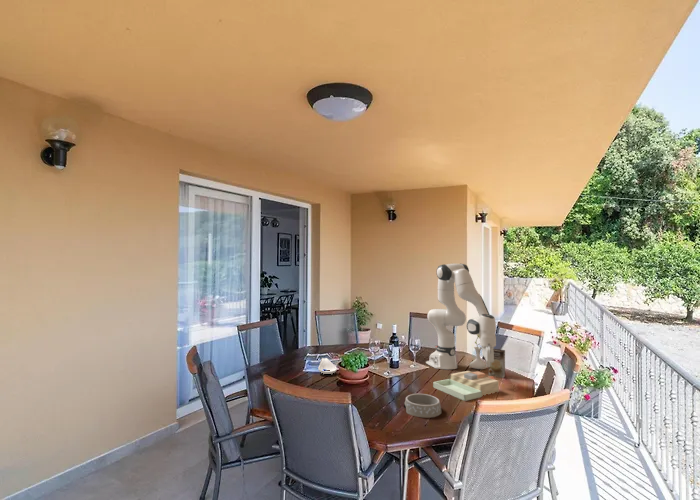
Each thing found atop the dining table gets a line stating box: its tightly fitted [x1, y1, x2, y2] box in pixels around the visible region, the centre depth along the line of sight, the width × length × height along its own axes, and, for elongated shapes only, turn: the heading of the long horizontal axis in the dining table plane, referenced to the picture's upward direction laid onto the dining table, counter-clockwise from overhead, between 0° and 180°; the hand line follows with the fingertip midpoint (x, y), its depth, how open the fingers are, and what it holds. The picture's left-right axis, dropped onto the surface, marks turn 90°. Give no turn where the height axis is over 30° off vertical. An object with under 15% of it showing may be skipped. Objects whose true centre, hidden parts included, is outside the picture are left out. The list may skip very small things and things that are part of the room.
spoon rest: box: [318, 357, 338, 375], centre depth 244 cm, size 24×12×7 cm, turn 15°
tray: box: [432, 378, 483, 402], centre depth 205 cm, size 24×12×3 cm, turn 29°
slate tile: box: [464, 373, 477, 380], centre depth 211 cm, size 5×5×2 cm
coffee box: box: [488, 348, 506, 379], centre depth 236 cm, size 9×6×16 cm
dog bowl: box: [403, 393, 442, 418], centre depth 180 cm, size 17×18×5 cm
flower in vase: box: [468, 335, 488, 370], centre depth 253 cm, size 13×11×25 cm
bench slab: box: [450, 370, 499, 397], centre depth 212 cm, size 22×14×6 cm, turn 29°
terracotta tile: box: [471, 370, 486, 378], centre depth 214 cm, size 5×5×2 cm
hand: (488, 366), depth 217 cm, fingers closed
